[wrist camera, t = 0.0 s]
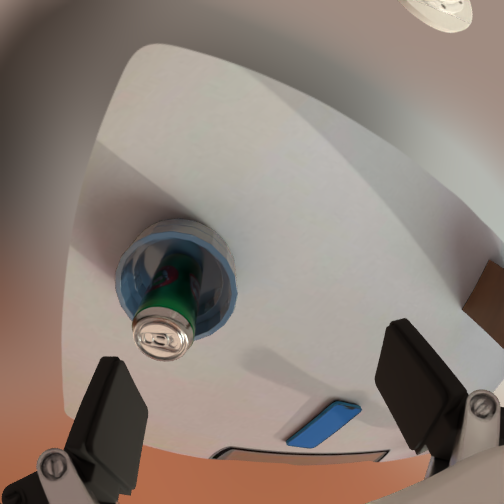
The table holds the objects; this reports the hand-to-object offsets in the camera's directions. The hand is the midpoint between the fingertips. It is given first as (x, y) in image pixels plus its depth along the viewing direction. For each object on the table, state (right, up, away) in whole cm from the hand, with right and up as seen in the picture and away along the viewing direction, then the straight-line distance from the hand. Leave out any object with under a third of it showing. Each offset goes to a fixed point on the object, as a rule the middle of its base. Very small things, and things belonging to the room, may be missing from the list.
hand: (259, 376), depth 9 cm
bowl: (-8, +2, +22) cm, 24 cm away
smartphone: (+13, -28, +36) cm, 48 cm away
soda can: (-8, +2, +22) cm, 24 cm away
